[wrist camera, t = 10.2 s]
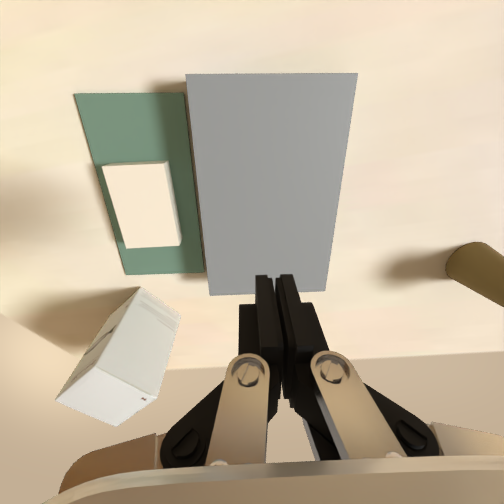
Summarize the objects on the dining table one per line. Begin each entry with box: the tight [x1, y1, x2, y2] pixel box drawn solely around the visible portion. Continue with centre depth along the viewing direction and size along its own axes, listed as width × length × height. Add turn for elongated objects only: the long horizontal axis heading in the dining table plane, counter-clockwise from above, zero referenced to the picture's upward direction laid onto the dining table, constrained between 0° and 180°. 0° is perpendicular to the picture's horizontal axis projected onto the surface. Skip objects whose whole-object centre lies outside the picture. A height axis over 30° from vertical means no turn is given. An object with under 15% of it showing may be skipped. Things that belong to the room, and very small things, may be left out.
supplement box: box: [55, 287, 181, 427], centre depth 31 cm, size 7×7×13 cm
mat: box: [74, 93, 204, 275], centre depth 29 cm, size 20×10×1 cm, turn 1°
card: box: [102, 160, 183, 249], centre depth 28 cm, size 9×6×2 cm, turn 2°
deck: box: [185, 73, 358, 296], centre depth 28 cm, size 22×14×4 cm, turn 1°
